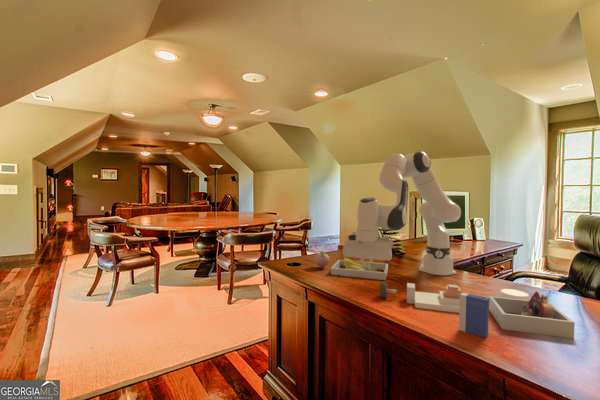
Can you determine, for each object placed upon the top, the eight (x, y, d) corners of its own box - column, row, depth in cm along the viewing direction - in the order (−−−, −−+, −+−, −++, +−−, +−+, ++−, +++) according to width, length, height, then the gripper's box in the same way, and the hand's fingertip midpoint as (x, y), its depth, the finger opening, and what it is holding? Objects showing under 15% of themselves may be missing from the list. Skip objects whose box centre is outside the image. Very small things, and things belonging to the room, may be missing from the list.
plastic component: (379, 269, 165) (365, 264, 161) (374, 282, 164) (361, 278, 160) (355, 261, 183) (342, 256, 178) (351, 273, 182) (338, 268, 177)
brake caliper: (507, 308, 114) (530, 284, 112) (533, 329, 112) (558, 304, 110) (521, 321, 102) (548, 294, 100) (551, 344, 101) (579, 317, 99)
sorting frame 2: (488, 309, 119) (489, 296, 119) (548, 316, 113) (549, 302, 113) (502, 329, 102) (502, 313, 102) (573, 338, 96) (574, 322, 96)
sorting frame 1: (338, 265, 185) (338, 259, 185) (387, 269, 176) (388, 263, 176) (330, 274, 165) (330, 268, 165) (385, 280, 156) (385, 273, 156)
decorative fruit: (312, 266, 182) (312, 249, 181) (325, 265, 184) (325, 248, 184) (317, 270, 173) (317, 252, 172) (331, 269, 175) (331, 252, 175)
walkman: (488, 334, 98) (489, 297, 97) (486, 338, 96) (487, 299, 95) (461, 327, 103) (462, 291, 103) (458, 329, 101) (459, 293, 101)
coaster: (515, 306, 123) (516, 297, 123) (494, 297, 133) (494, 289, 132) (535, 303, 126) (535, 295, 125) (512, 295, 135) (512, 287, 135)
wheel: (380, 294, 134) (380, 280, 134) (396, 296, 132) (397, 282, 131) (379, 299, 128) (379, 284, 128) (396, 301, 126) (396, 286, 126)
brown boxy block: (445, 297, 125) (445, 283, 125) (458, 299, 124) (459, 284, 123) (446, 302, 120) (446, 287, 120) (461, 303, 119) (461, 288, 119)
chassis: (406, 295, 134) (407, 280, 134) (466, 301, 127) (467, 286, 126) (406, 306, 121) (407, 290, 121) (473, 314, 113) (474, 297, 113)
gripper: (393, 237, 131) (392, 269, 132) (345, 233, 138) (344, 264, 139) (392, 239, 125) (391, 273, 126) (342, 235, 132) (341, 268, 133)
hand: (366, 268), depth 132 cm, fingers closed
